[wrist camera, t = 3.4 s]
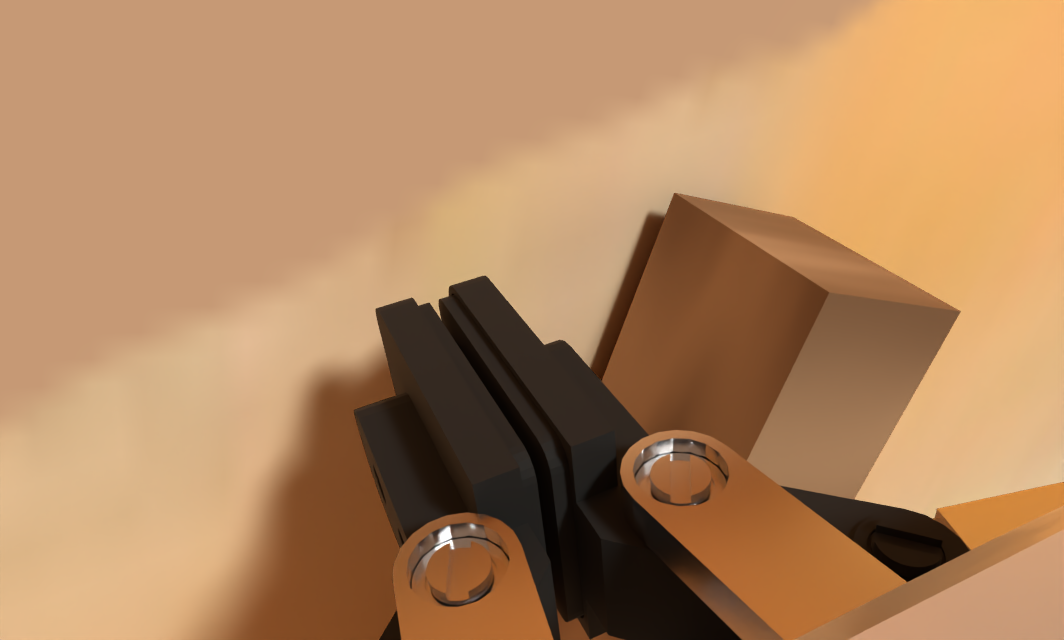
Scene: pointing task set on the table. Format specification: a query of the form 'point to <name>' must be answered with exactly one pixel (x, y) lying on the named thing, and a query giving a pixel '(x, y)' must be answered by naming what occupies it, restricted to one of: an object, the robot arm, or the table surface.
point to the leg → (771, 347)
